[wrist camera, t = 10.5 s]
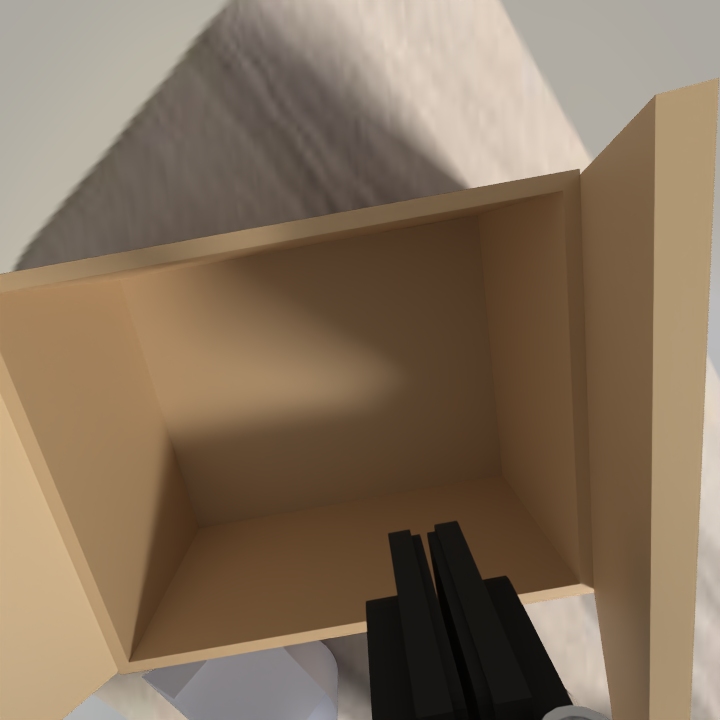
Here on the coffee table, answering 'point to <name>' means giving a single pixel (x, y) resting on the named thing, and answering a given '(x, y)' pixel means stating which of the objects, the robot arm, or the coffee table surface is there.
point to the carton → (308, 414)
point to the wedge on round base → (254, 685)
